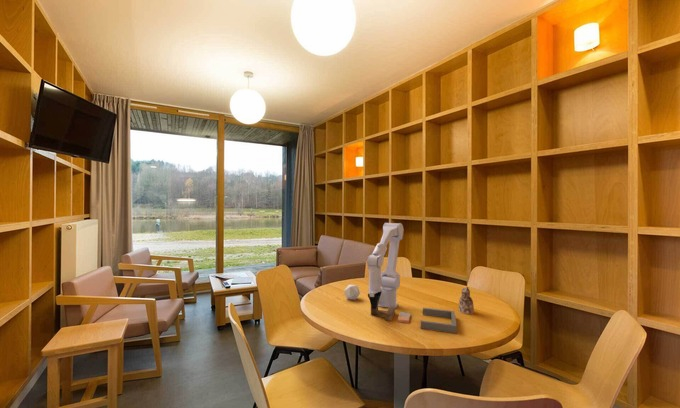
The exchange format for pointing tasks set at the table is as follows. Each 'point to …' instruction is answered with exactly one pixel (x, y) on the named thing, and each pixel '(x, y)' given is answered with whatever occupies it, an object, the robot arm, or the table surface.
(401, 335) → the table surface
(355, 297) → the die
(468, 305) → the figurine
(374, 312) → the scraper
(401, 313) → the tile slate
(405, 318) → the tile terracotta
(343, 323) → the table surface
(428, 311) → the grey flat u-shaped piece
